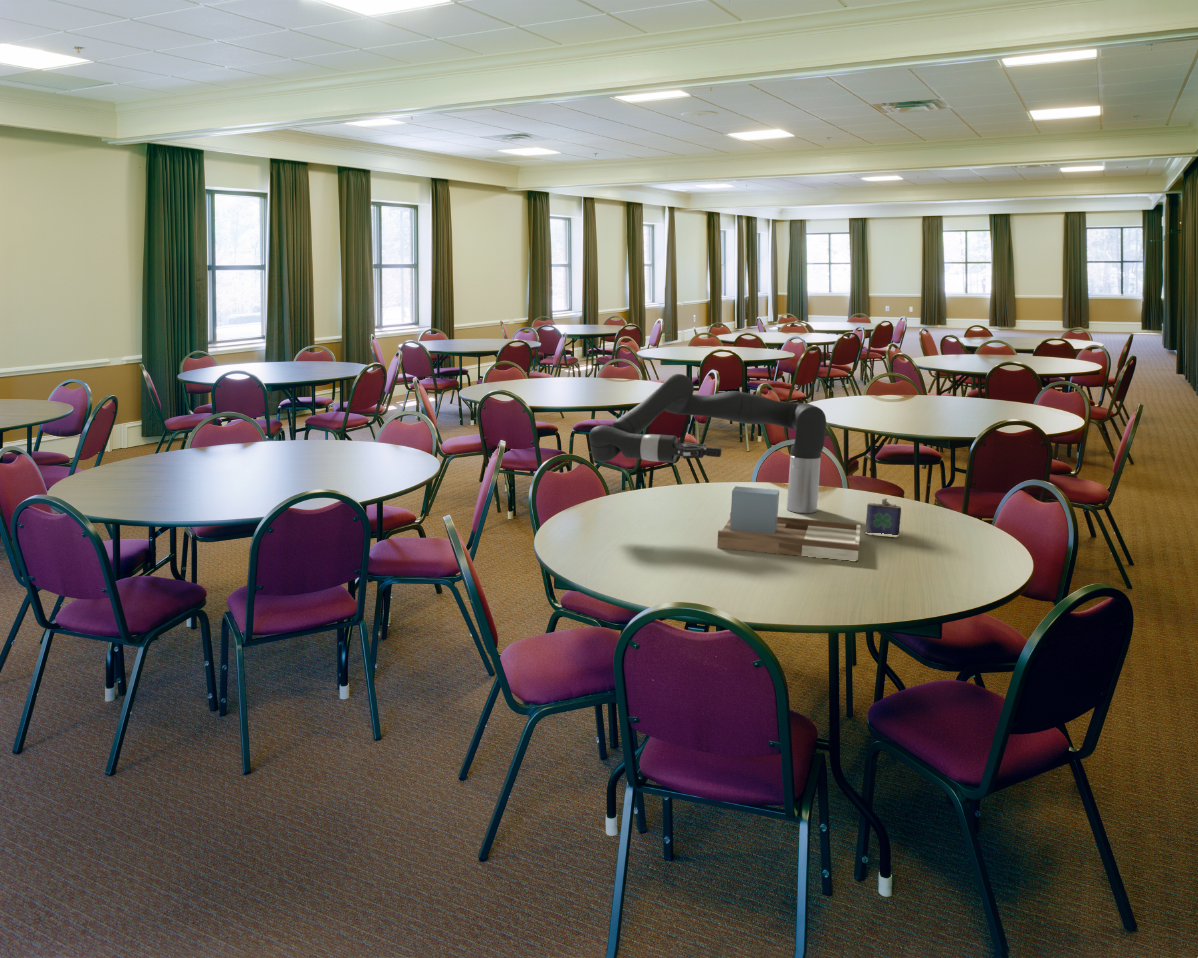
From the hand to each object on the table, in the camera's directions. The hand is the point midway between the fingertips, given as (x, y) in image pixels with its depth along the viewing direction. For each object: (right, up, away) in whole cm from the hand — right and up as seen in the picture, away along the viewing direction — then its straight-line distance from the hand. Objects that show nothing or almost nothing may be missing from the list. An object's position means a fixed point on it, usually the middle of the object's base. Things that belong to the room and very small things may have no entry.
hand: (720, 452), depth 242 cm
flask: (+47, -23, +9) cm, 53 cm away
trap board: (+19, -25, -1) cm, 31 cm away
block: (+9, -21, +2) cm, 23 cm away
